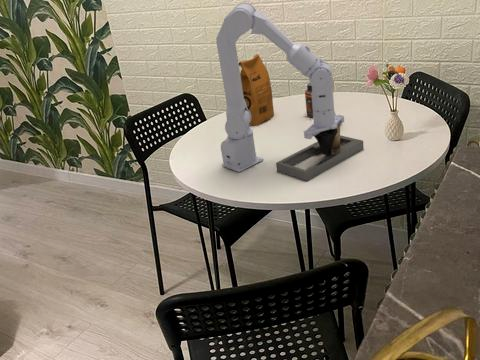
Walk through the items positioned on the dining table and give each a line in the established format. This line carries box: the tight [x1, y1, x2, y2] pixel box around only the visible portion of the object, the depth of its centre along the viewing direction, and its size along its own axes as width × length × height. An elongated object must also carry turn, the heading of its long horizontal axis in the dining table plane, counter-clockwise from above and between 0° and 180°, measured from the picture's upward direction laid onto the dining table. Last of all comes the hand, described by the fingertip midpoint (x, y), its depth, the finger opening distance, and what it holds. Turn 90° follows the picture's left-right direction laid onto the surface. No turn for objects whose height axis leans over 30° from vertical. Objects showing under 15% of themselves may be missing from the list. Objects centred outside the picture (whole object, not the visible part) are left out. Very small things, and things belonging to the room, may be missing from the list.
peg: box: [330, 121, 343, 156], centre depth 144 cm, size 6×6×9 cm
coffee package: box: [238, 53, 275, 126], centre depth 176 cm, size 10×12×22 cm
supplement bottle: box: [304, 82, 313, 118], centre depth 174 cm, size 6×6×11 cm
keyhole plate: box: [275, 134, 365, 182], centre depth 142 cm, size 24×11×3 cm, turn 131°
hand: (326, 154), depth 144 cm, fingers closed
